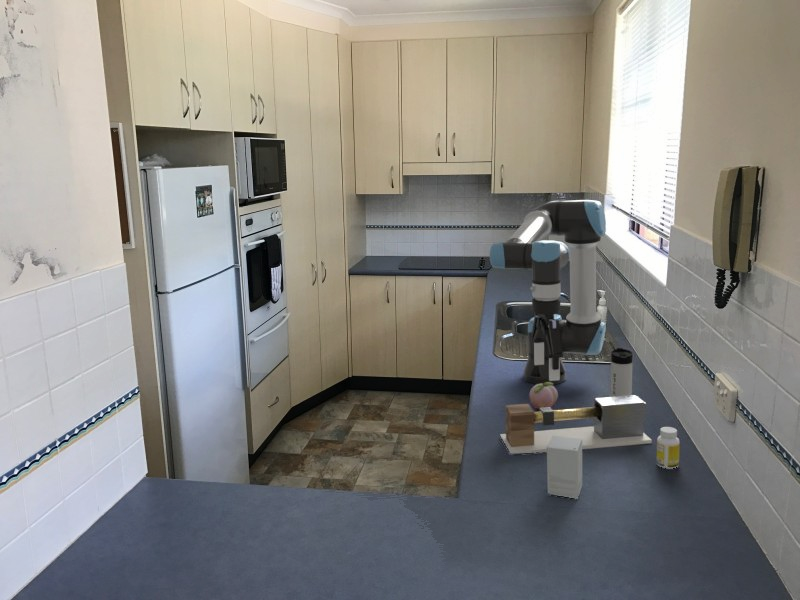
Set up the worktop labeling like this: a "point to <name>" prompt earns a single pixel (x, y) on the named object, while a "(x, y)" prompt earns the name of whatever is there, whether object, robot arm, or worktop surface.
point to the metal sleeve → (620, 417)
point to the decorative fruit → (543, 395)
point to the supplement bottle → (668, 448)
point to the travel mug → (621, 372)
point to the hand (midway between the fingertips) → (546, 372)
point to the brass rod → (565, 414)
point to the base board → (585, 433)
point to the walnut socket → (519, 425)
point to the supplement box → (564, 466)
